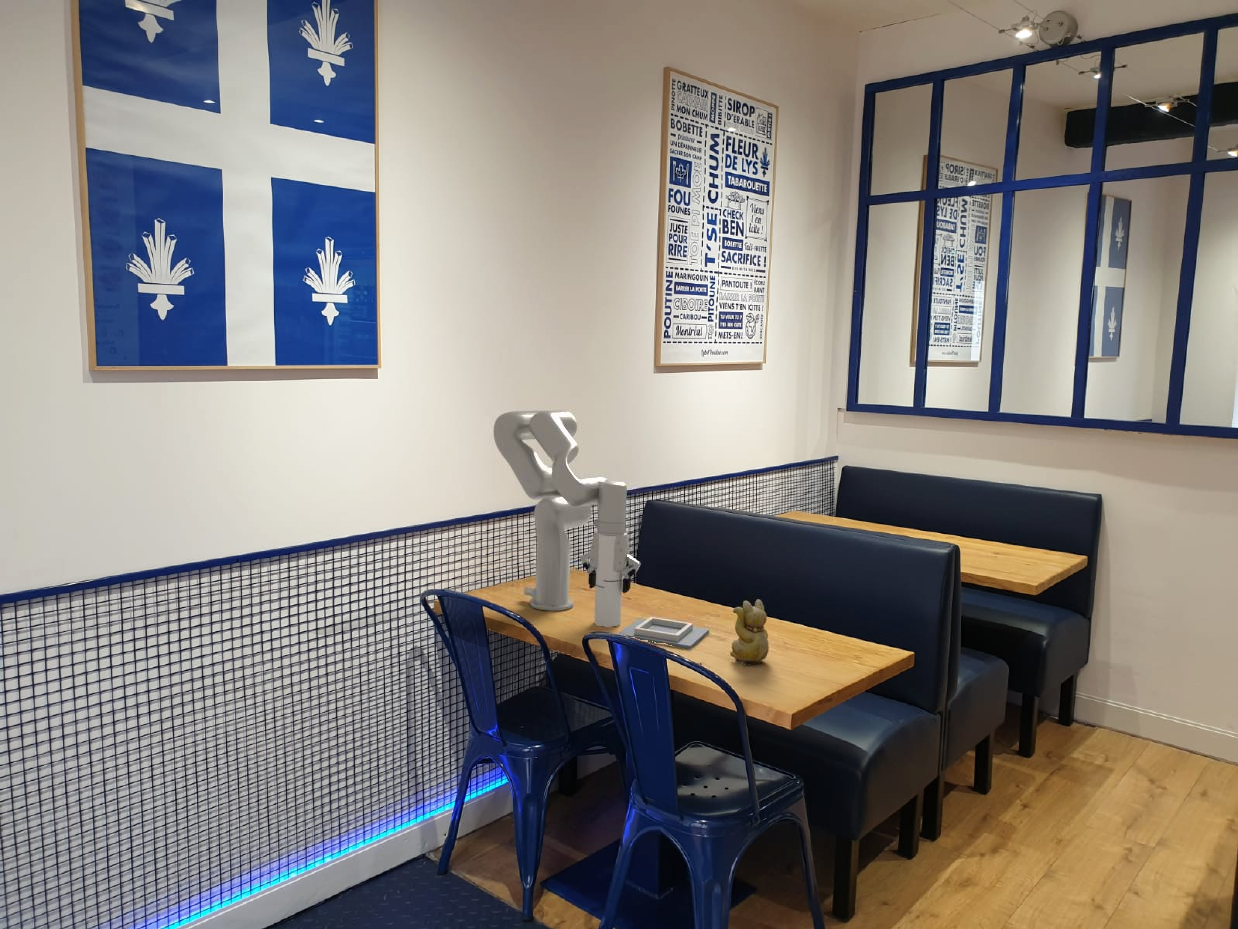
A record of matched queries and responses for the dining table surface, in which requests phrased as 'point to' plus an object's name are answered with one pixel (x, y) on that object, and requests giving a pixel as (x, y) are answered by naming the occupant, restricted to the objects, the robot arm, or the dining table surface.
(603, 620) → the cylindrical container
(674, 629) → the collar board
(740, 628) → the decorative figurine
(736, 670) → the dining table surface
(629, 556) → the robot arm
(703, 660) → the dining table surface
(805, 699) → the dining table surface
